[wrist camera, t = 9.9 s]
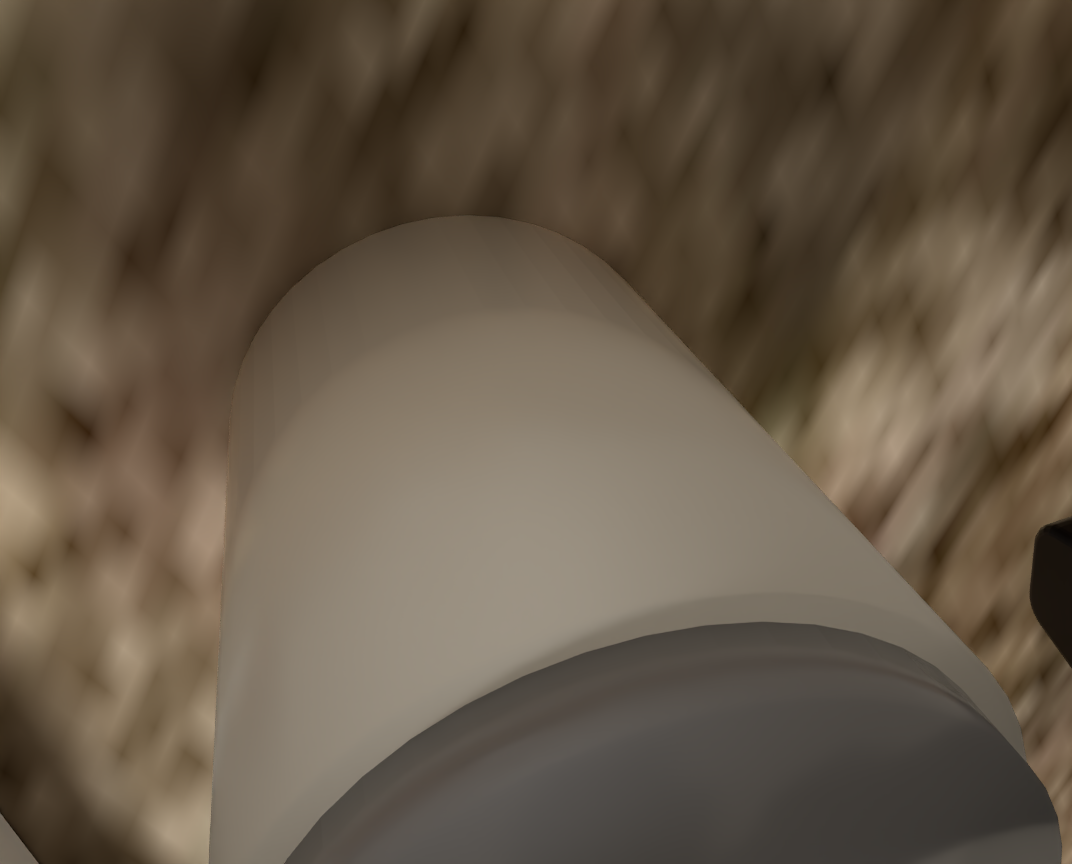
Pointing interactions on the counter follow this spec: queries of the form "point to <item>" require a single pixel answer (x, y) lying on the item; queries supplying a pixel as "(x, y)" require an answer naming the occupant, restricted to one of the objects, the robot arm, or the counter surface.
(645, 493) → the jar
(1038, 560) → the robot arm
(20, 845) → the lane
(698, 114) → the counter surface
